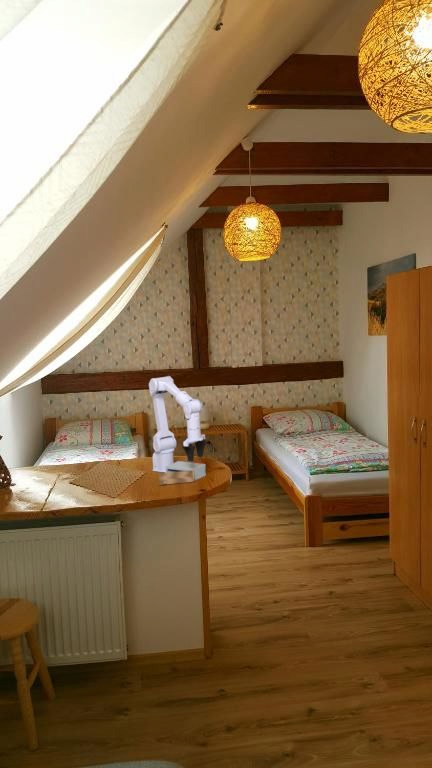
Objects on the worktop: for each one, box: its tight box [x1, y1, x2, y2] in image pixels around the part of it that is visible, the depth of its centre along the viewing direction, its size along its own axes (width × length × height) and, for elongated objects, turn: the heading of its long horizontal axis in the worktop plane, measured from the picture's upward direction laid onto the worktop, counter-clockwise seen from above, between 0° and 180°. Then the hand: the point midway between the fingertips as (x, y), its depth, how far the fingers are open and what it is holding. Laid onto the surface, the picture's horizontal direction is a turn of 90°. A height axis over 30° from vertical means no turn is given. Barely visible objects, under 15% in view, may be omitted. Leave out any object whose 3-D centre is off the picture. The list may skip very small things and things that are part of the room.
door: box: [158, 470, 196, 486], centre depth 245 cm, size 15×2×5 cm, turn 99°
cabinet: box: [165, 460, 207, 481], centre depth 255 cm, size 15×10×5 cm, turn 59°
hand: (195, 458), depth 247 cm, fingers open, 7 cm apart
